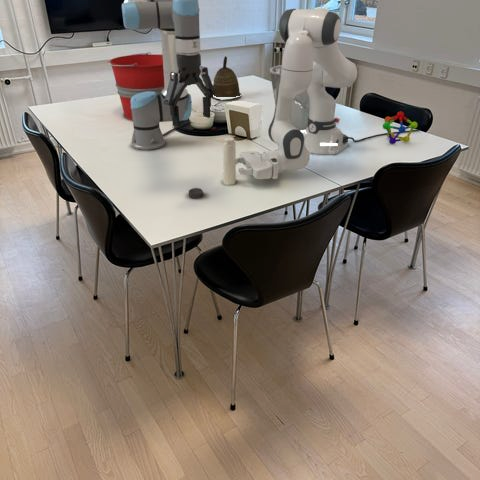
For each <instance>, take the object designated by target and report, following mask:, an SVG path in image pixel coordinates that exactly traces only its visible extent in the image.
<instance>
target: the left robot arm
mask: <svg viewBox="0 0 480 480" xmlns="http://www.w3.org/2000/svg"><path fill="white" fill-rule="evenodd" d="M121 13H122V20H123V21H122V22H123V26H124V28H125V29H126V30H133V31H134V30H135V31H136V30H153V29H154V30H155V29H157V30H158V31H159V32H160V37H161V52H162V53H161V55H163V71H164V86H165V88H164V89H162V92H161V93H162V95H157V94H156V92H153V91H152V92H150V91H147V92H142V93H138V94H136V95H134V96H132V98H131V109H132V117H133V120H132V125H133V132H132V135H131V142H130V143H131V147H132V148H134V149H135V150H141V151H151V150H153V151H154V150H157V149H161V148H163V147H164V146H165V144H166V140H165V137H164V136H166V135H168V134H169V133H171V132H173V131H175V130H177V129H180V128H182V127H184V126H186V125H189V124H190V123H191V122H189V121H188V120H189V119H190V118H191V115H192V105H193V104H192V95H191V94H190V93H189V91H188V89H186V88H187V87H188V86H191V85H196V86H197V88H198V89H199V90H200V92H201V93H202V94H203V96H202V113H203V115H202V117H205V118H208V119H210V118H211V109H210V107H211V106H212V99H214V98H213V95H215V93H216V92H215V89H214V87H213V81H212V79H211V77H210V74H209V69H208V67H207V66H204V65H203V66H202V56H201V54H200V52H201V33H200V32H201V31H200V30H201V29H200V6H199V0H123V3H121ZM200 76H201V77H200ZM182 121H187V122H185V123H183V124H180V122H182ZM165 122H166V123H167V122H172V126H174V127H173V128H172V129H170V130H168V131H166V132H165V133H163V132H162V130H161V127H160V123H165Z"/></svg>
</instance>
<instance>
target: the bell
mask: <svg viewBox="0 0 480 480" xmlns="http://www.w3.org/2000/svg"><path fill="white" fill-rule="evenodd" d="M227 63H228V57H227V56H224V58H223V63H222V67H221V68H219V69H218V70H217V71H216V73H215V75H214V78H213V81H212V84H213V87H214V89H215V92H216V93H215V95H214V96H216V97H236V96H240V95H241V96H242V93H241V92H240V83H239V80H238V79H239V78H238V77H237V75H236V73H235V72H234V70H232V69H231V68H230V67H227Z"/></svg>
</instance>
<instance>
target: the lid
mask: <svg viewBox="0 0 480 480" xmlns="http://www.w3.org/2000/svg"><path fill="white" fill-rule="evenodd" d="M188 197H189V198H190V199H194V200H195V199H196V200H197V199H200V198H203V197H204V191H203V189H202V188H199V187H194V188H190V189H188Z"/></svg>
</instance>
